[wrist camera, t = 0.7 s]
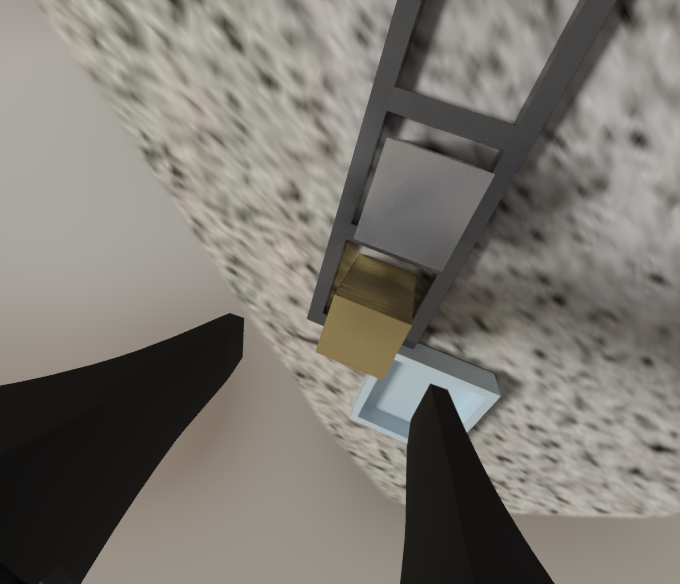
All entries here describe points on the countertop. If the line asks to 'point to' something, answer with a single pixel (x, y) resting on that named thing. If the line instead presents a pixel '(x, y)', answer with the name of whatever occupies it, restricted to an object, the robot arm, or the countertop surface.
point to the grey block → (420, 203)
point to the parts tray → (422, 390)
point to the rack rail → (457, 121)
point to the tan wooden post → (369, 316)
